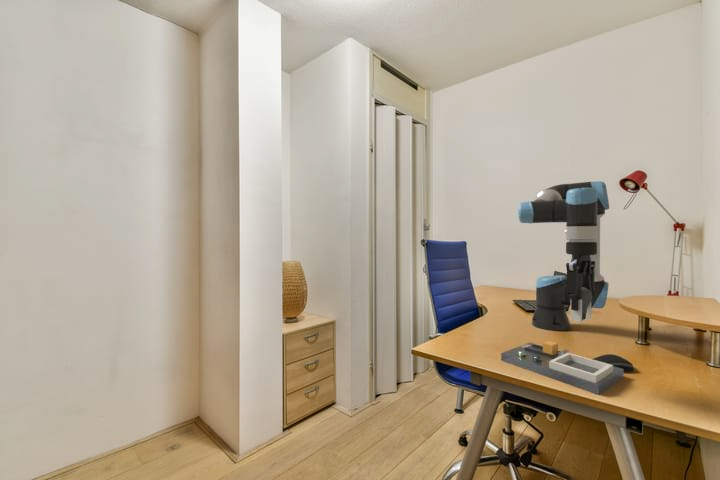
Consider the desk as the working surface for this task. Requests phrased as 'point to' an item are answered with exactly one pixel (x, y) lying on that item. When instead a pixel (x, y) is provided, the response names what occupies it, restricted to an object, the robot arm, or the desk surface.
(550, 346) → the wooden block
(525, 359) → the panel
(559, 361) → the socket
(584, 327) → the desk surface
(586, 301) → the light bulb
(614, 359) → the computer mouse
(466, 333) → the desk surface
